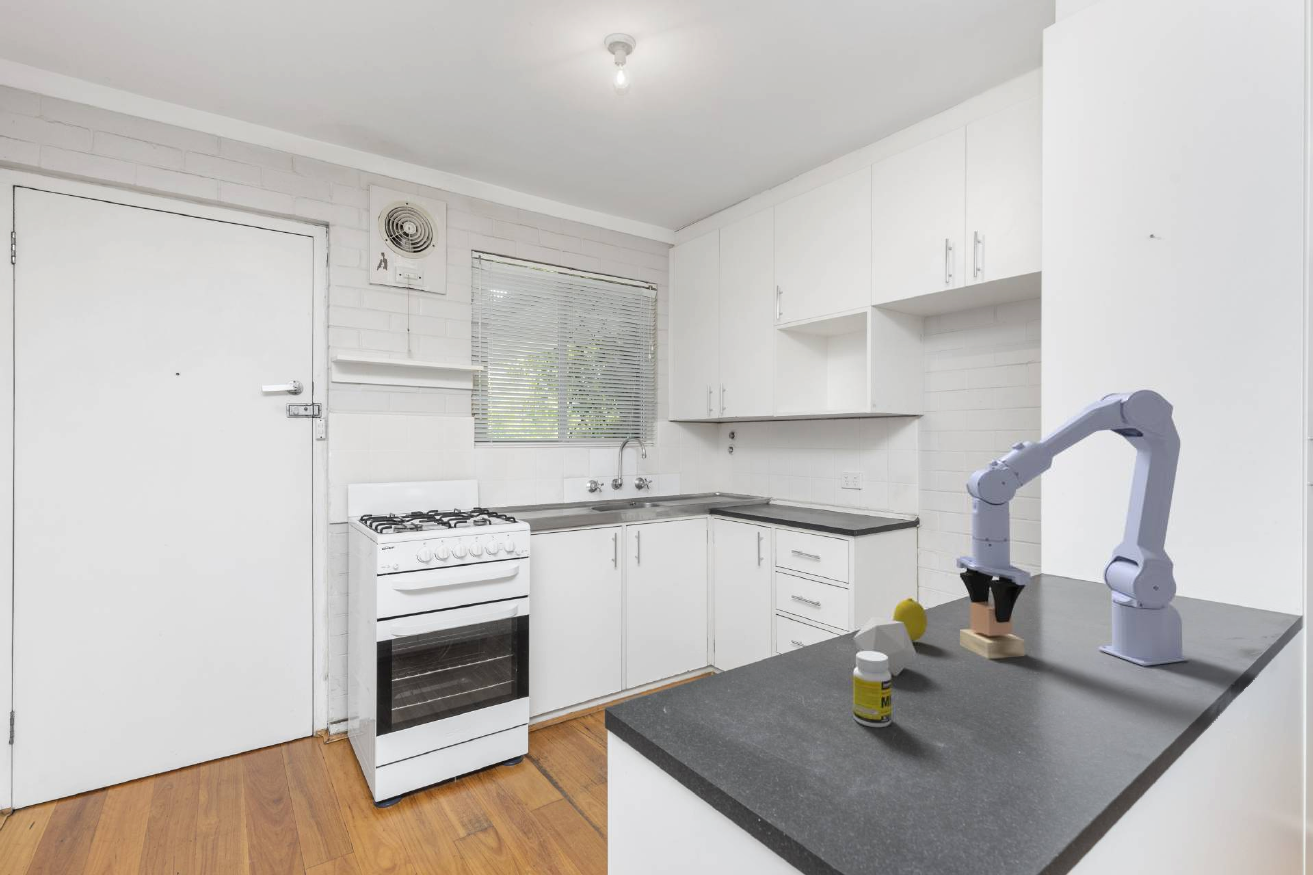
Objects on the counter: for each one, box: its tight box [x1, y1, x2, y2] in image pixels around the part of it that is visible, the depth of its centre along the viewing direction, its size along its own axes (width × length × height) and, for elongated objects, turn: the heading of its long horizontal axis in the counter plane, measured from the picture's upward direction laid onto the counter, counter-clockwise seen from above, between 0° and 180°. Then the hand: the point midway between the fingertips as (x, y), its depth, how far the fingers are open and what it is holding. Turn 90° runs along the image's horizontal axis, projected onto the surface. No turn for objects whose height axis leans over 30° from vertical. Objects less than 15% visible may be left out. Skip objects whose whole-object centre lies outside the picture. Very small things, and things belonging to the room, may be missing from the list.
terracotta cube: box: [969, 600, 1013, 636], centre depth 107 cm, size 4×4×4 cm
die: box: [853, 616, 917, 677], centre depth 99 cm, size 8×9×10 cm
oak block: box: [959, 628, 1026, 660], centre depth 107 cm, size 7×7×3 cm
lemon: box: [893, 597, 928, 643], centre depth 112 cm, size 6×6×8 cm
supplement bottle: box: [852, 651, 892, 728], centre depth 81 cm, size 5×5×8 cm
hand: (991, 617), depth 107 cm, fingers closed on terracotta cube, 4 cm apart
